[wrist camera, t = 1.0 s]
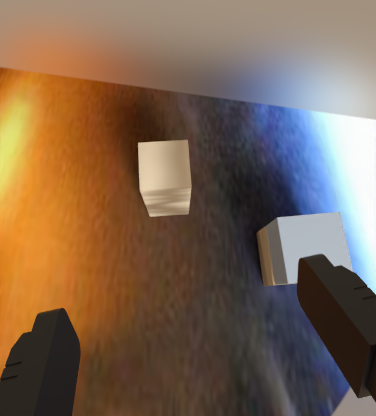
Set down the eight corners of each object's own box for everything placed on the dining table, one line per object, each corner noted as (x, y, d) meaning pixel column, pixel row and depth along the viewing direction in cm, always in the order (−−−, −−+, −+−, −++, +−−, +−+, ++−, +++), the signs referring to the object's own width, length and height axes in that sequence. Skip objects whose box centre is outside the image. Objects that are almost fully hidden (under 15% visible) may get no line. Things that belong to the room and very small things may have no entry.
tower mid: (275, 284, 32) (288, 283, 29) (265, 226, 34) (276, 217, 30) (333, 279, 33) (354, 277, 29) (321, 221, 34) (340, 211, 30)
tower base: (263, 286, 36) (273, 285, 32) (256, 233, 38) (264, 226, 34) (315, 281, 37) (332, 280, 33) (306, 229, 38) (320, 222, 34)
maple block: (149, 216, 38) (139, 190, 28) (148, 180, 39) (137, 142, 29) (188, 214, 38) (191, 186, 28) (185, 177, 39) (187, 139, 30)
